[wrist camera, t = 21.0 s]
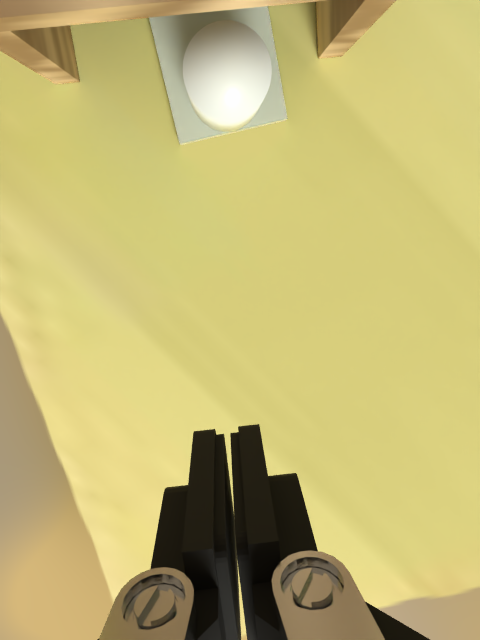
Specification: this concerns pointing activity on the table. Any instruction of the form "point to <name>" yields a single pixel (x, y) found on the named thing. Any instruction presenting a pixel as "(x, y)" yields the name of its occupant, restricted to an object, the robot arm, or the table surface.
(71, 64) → the wooden bridge
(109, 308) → the table surface
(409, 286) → the table surface
